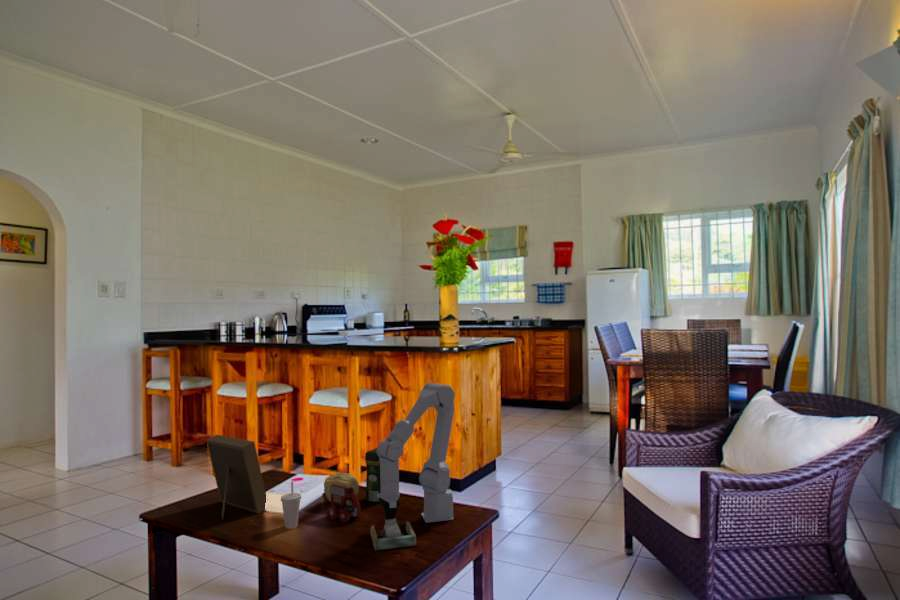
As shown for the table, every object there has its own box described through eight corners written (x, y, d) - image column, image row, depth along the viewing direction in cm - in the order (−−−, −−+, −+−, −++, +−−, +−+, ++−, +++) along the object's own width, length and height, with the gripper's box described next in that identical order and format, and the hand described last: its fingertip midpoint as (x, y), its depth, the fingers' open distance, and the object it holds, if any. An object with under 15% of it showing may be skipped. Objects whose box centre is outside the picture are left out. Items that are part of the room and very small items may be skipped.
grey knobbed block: (399, 532, 163) (399, 518, 163) (403, 542, 157) (403, 526, 157) (381, 534, 162) (381, 520, 162) (384, 544, 155) (384, 528, 155)
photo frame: (231, 498, 197) (230, 431, 198) (268, 509, 185) (267, 438, 186) (193, 511, 185) (192, 440, 185) (230, 524, 173) (229, 447, 173)
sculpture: (319, 507, 187) (319, 476, 188) (336, 496, 199) (336, 467, 199) (348, 510, 184) (348, 478, 184) (364, 498, 195) (363, 469, 196)
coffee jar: (376, 493, 201) (376, 444, 201) (394, 496, 197) (393, 446, 198) (361, 501, 192) (361, 450, 193) (380, 504, 189) (379, 452, 189)
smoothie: (305, 524, 171) (305, 480, 172) (292, 531, 166) (291, 486, 166) (290, 521, 174) (290, 478, 175) (276, 528, 168) (276, 484, 169)
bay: (409, 529, 166) (409, 521, 166) (416, 545, 154) (416, 536, 154) (370, 534, 163) (370, 525, 163) (374, 550, 151) (374, 541, 151)
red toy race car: (351, 524, 171) (351, 492, 171) (323, 517, 177) (323, 486, 178) (365, 517, 177) (365, 486, 177) (338, 511, 183) (337, 480, 183)
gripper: (374, 473, 170) (374, 516, 170) (379, 487, 156) (380, 534, 156) (396, 472, 172) (396, 514, 172) (403, 485, 158) (403, 531, 157)
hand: (390, 523), depth 164 cm, fingers closed
